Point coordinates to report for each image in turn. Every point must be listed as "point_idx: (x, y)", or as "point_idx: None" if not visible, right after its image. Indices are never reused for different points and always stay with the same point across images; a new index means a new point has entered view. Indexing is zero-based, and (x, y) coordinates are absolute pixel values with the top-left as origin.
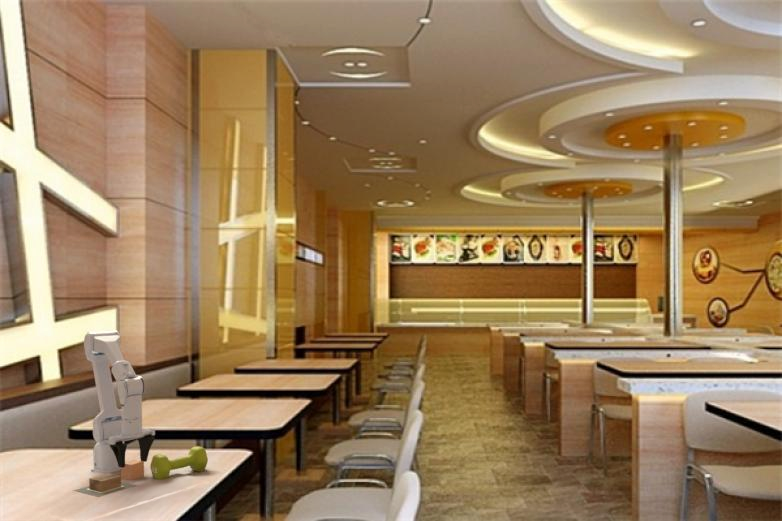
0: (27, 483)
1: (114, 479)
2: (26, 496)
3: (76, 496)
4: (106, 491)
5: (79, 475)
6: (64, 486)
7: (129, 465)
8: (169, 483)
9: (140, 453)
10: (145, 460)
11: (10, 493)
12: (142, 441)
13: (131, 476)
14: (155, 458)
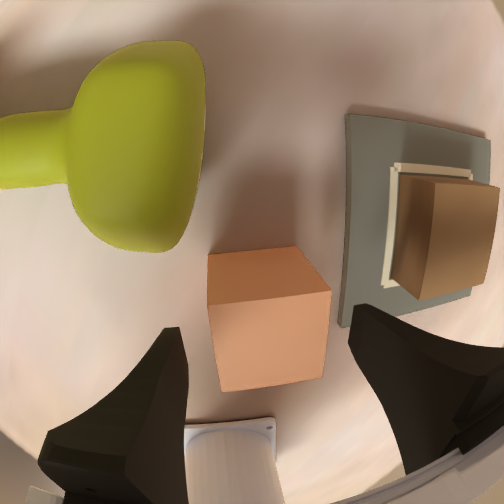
0: None
1: (456, 182)
2: None
3: None
4: (459, 167)
5: (322, 447)
6: None
7: (328, 301)
8: (193, 23)
9: (185, 408)
10: (175, 330)
11: None
12: (172, 483)
13: (300, 257)
14: (183, 135)
